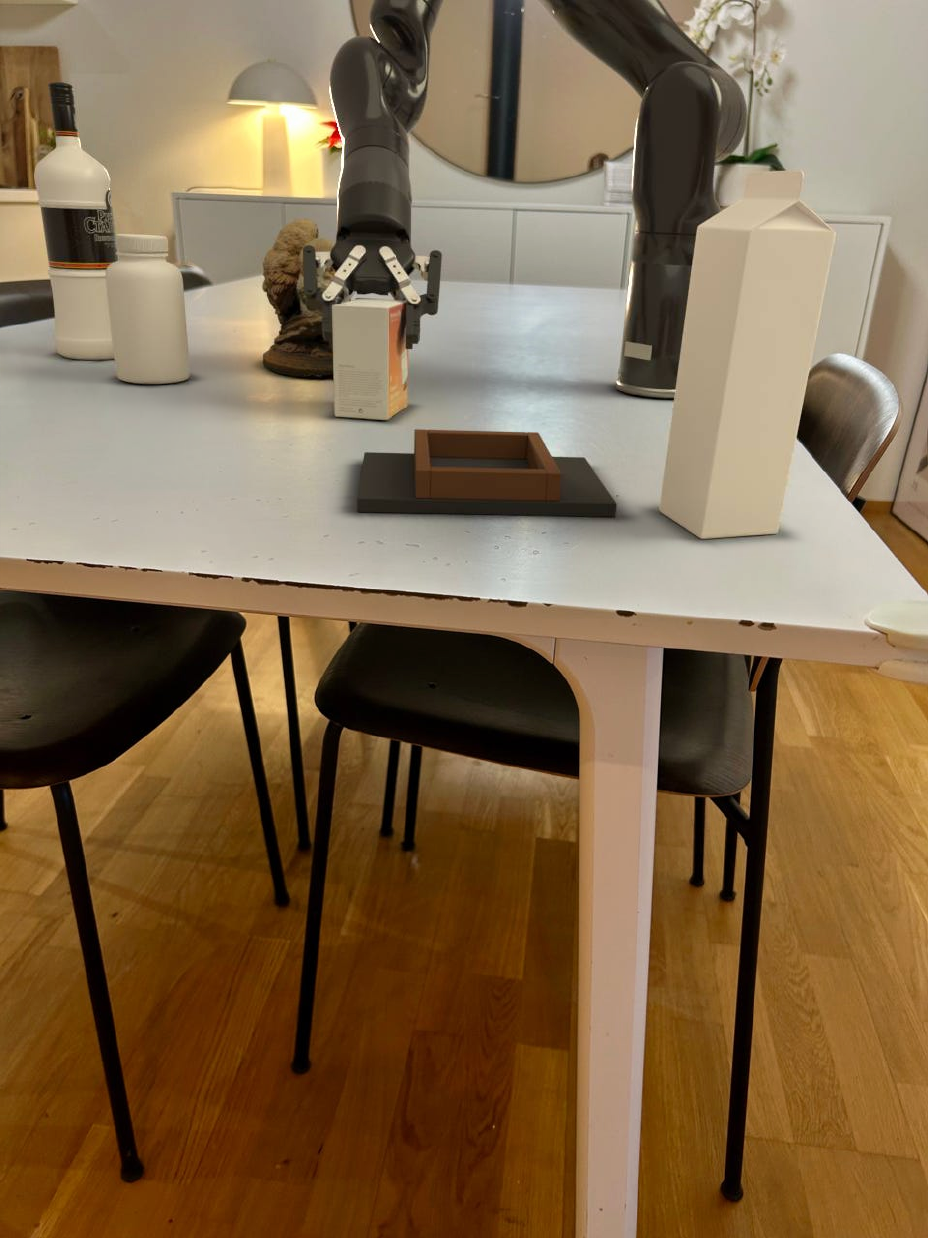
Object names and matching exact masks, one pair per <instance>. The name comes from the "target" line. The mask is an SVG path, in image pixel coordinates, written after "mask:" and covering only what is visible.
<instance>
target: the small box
mask: <svg viewBox="0 0 928 1238" xmlns="http://www.w3.org/2000/svg"><path fill="white" fill-rule="evenodd" d="M406 305H408V302H407V301H400V300H394V299H384V298H369V297H368V298H367V297H356V298H355V299H353V300H352V299H351V301H349V302H346V303H342V304H335V305H332V326H333V374H332V375H333V406H334V407H333V409H334V416H335V417H336V418H351V419H365V420H378V421H379V420H381V421H389V420H390V419H392V417H393V416H394V415H397V413H399V412H401V411H402V410H404V409H406V408H407V407H408V405H409V404H408V400H409V399H408V398H409V397H408V393H409V389H408V388H409V349H406Z"/></svg>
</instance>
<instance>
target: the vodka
mask: <svg viewBox="0 0 928 1238" xmlns="http://www.w3.org/2000/svg"><path fill="white" fill-rule="evenodd" d="M47 86H48V93H49V100H50V104H51V105H50V106H51V114H52V122H53V129H54V136H55V148H54V149H53V150H52V151H50V152H49V153H48V154H47V155H45V156H44V157H43V158H42V159H40V160H39V161H38V162H37V164H36V166H35V167H34V173H33V180H34V184H35V189H36V192H37V196H38V199H37V203H38V205H39V206H40V212H41V213H40V214H41V219H42V220H41V221H42V227H43V232H44V233H43V234H44V241H45V249H46V255H47V260H48V267H49V269H48V271H47V275H48V276H49V280H50V287H51V291H52V298H53V308H54V335H53V342H54V348H55V350H56V352H57V354H59V355H60V356H61V357H63V358H65V359H70V360H77V361H78V360H80V361H106V360H115V359H114V350H113V341H112V332H111V323H110V314H109V305H108V296H107V287H106V277H105V275H106V270H107V268H108V266H109V265H110V264H112V263H114V262H116V261H119V255H116V252H118V249H116V243H115V235H116V229H115V219H114V211H113V201H112V195H111V178H110V175H109V172H108V170H107V169H106V168H105V166H104V165H103V164H101V162H99V161H98V160H96V158H94V157H93V156H91V155H90V154H89V153H87V152H86V151H85V150H84V149H83V148H82V146H81V140H80V137H79V128H78V120H77V113H76V112H77V111H76V107H75V105H76V104H75V103H76V102H75V96H74V90H73V88H74V87H73V85H72V84H70V83H67V82H63V81H53V82H49V83H48V85H47Z"/></svg>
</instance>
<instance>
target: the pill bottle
mask: <svg viewBox="0 0 928 1238" xmlns="http://www.w3.org/2000/svg"><path fill="white" fill-rule="evenodd" d="M115 243H116V249H117V252H116V255H118V261H116V262H114V263H112V264H110V265H109V266H108V268H107V270H106V275H105V277H106V287H107V296H108V305H109V314H110V323H111V332H112V341H113V350H114V359H113V360H114V368H115V373H116V377H117V378H118V379H119V380H120V381H122V382H126V383H130V384H139V385H140V384H142V385H162V384H163V385H165V384H175V383H179V382H180V383H181V382H184V381H187V380H189V378H190V375H191V373H190V371H191V370H190V367H191V365H190V355H189V342H188V340H189V339H188V329H187V315H186V314H187V313H186V304H185V303H186V302H185V301H186V300H185V289H184V279H183V275H182V272H181V271H180V269H179V268H178V267H177V266H176V265H175V264H172V263H171V262H168V261H167V259H166V258H167V257H169V253H167V252H169V239H168V238H167V236H166V235H165V236H164V235H156V234H155V235H154V234H136V233H117V234H116V233H115Z"/></svg>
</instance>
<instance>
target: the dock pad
mask: <svg viewBox="0 0 928 1238" xmlns="http://www.w3.org/2000/svg"><path fill="white" fill-rule="evenodd" d="M413 432H414V435H413V437H414V439H413V452H412V453H411V452H374V451H373V452H372V451H369V452H368V451H365V452H364V454H363V459H362V466H361V472H360V477H359V484H358V489H357V499H356V504H357V505H356V511H357V512H358V513H390V514H397V513H399V514H443V515H444V514H447V515H449V514H450V515H453V514H454V515H493V516H494V515H495V516H497V515H498V516H501V515H503V516H547V517H548V516H553V517H555V516H556V517H601V518H602V517H603V518H604V517H605V518H611V517H612V518H614V517H616V512H617V501H616V500H615V499H614V498H613V497H612V495H611V494H610V492H609V491H608V489H607V488H606V486H605V485H604V483H603V482H602V480H601V479H600V478H599V476H598V474H597V473H596V472H595V470H594V469H593V468H592V466H591V465H590V463H589V462H588V461H587V459H586V457H581V456H580V457H579V456H553V455H552V454H551V452H550V450H549V448H548V447H547V445H546V443H545V442H544V440H543V438H542V436H541V435H540V433H539V432H537V431H535V432H533V431H532V432H531V431H499V430H497V431H495V430H492V431H491V430H490V431H489V430H457V429H417V428H416V429H415V428H414V431H413Z"/></svg>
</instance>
